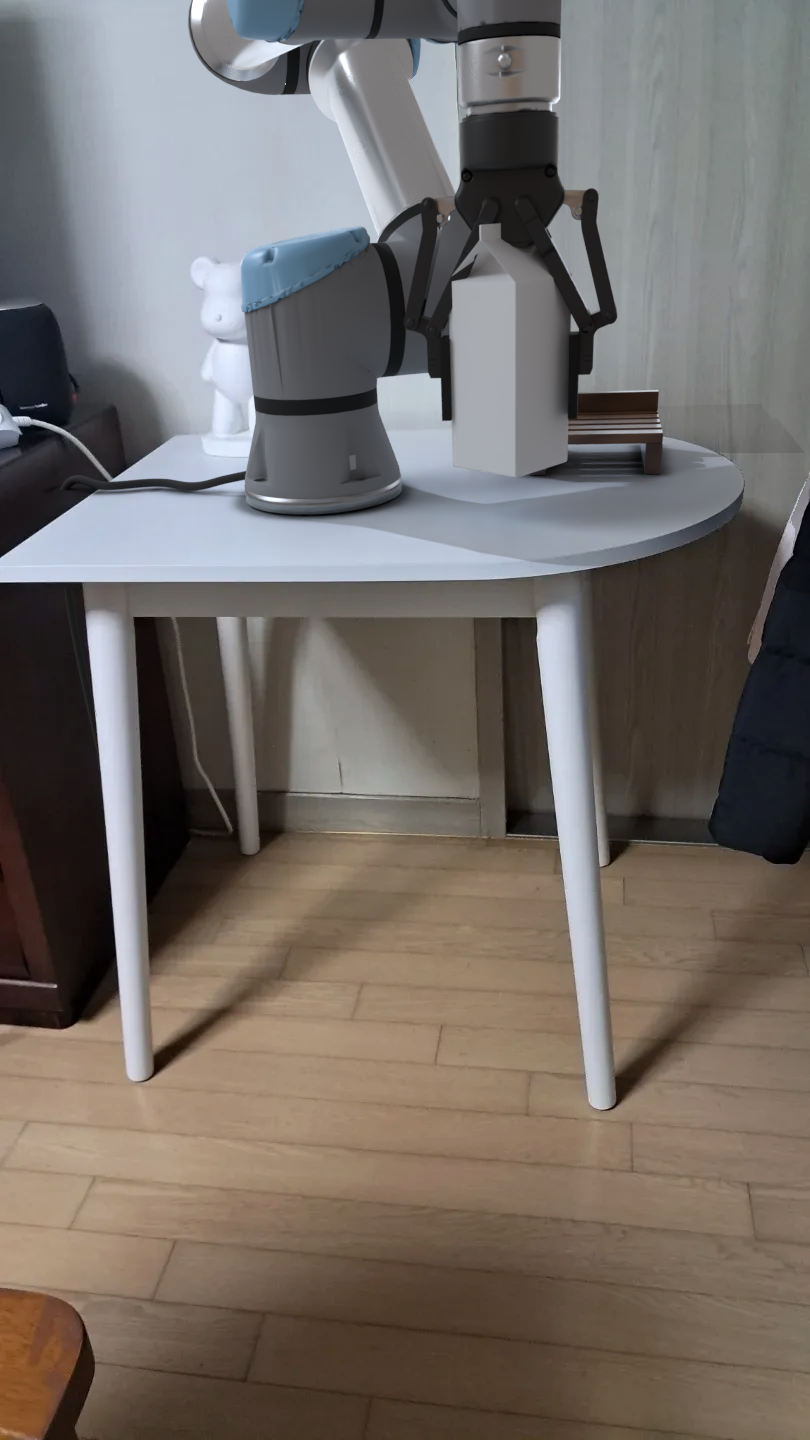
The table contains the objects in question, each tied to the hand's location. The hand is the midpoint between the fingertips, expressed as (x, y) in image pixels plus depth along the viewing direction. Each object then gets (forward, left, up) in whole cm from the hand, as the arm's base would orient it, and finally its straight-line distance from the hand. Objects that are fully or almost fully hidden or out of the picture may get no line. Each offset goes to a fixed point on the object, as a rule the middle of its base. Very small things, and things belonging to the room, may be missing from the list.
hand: (510, 416), depth 87 cm
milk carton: (0, 0, -4) cm, 4 cm away
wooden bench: (+7, +22, -9) cm, 24 cm away
